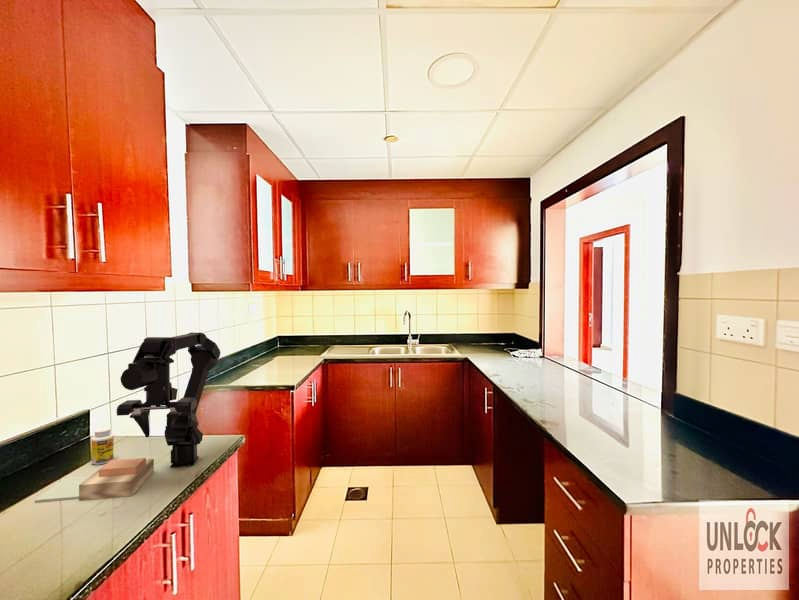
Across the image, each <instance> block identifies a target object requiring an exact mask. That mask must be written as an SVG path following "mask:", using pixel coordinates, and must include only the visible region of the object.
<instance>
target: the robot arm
mask: <svg viewBox="0 0 799 600" xmlns="http://www.w3.org/2000/svg"><path fill="white" fill-rule="evenodd" d="M184 349H187V352H188V353H189V355H190V362H191V363H190V364H191V365H192V370H191V374H190V375H189V376H190V377H189V378H188V382H187V385H186V388H185V391H184V395H183V397H181V398H180V399H179V400H177V396H178V389H177V388H175V387H172V386H173V385H172V382H171V381H170V379H171V378H170V377H171V376H170V374H171V373H170V372H171V371H170V370H171V369H170V368H171V365H170V364H173V363H175V360H174V359H173V358H172V356H174V355H175V354H176V353H177V351H180V350H184ZM220 357H221V350H220V348H219V347H218V344H217V343H216V342H215V341H213V340H212V339H210V338H208V337H207V335H206V334H205V333H203V332H189V333H185V334H181V335H176V336H170V337H169V336H168V337H164V336H163V337H161V336H152V337H151V336H147V337H145V338H144V339H143V342H142V343H141V344H140V345H139V348H138V351H137V352H136V354H135V356H134V359H133V361H132V362H129V363H128V366H127V368H126V369H125V370H123V372H122V373H121V376H120V383H121V386H122V387H123V388H124V389H125V390H128V391H134V390H138V389H141V388H143V391H144V392H145V401H144V402H142V400H141V399H132V400H131V399H129V400H128V399H127V400H126V401H123V402H121V403H119V405H118V406H117V407H116V416H118V417H119V416H129V419H133V420H134V421H135V422H136V423H137V425H138V426H139V428H140V429H141V431H142V433H143V434H144V436H145V438H149V437H150V435H151V434H150V431H151V430H150V412H151V411H152V410H169V412H168V413H167V414H166V424H165V429H164V438H165V441H166V445H167V446H168V447H169V446H172V448H171V450H170V464H171V465H170V468H172V469H173V468H183V467H194V465H195V464H196V463H197V461H198V460H199V459H200V455H199V456H198V445H200V444H201V442H202V441H203V435H204V434H203V432H202V431H201V430H200V429H199V428H198V426H199V420H198V418H197V415H196V414H197V411H198V408H199V404H200V400H201V397H202V394H203V390H204V388H205V385H206V381H207V378H208V374H209V372H210V371H211V370H213V368H215V366H216V365H217V363H218V361H219V359H220ZM175 400H177V401H175Z"/></svg>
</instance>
